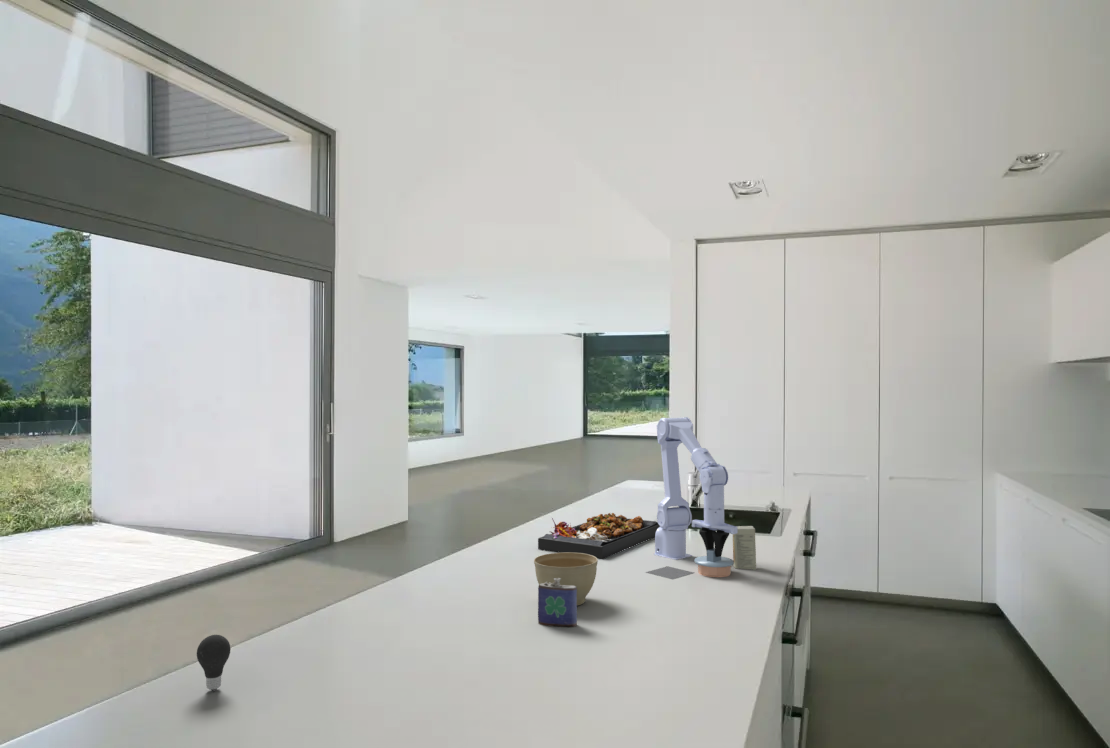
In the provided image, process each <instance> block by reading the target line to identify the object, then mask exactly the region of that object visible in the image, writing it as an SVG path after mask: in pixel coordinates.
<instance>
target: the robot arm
mask: <svg viewBox="0 0 1110 748" xmlns="http://www.w3.org/2000/svg"><path fill="white" fill-rule="evenodd" d="M692 422H693V421H692V420H691V418H689V417H688V416H684V417H661V418H660V419H659V420H658V423H656V424H657V425H656V435H657V436H656V437H657V444H659V445H660V453H661V464H662V465H661V466H662V476H663V488H664V489H663V490H664V498H663V499H662V500H661V501H660V502H659V503H658V504H657V514H656V520H657V521H656V522H658V524H659V525H660V527H659V528H658V529H657V531H656V534H655V537H654V553H653V556H656V557H660V558H661V557H662V558H667V559H670V560H674V561H677V560H682V559H685V558H689V557H692V556H693V554H691V553H687V533H686V532H687V530H688V529H689V526H690V524H691V527H692V528H700V530H699V531H698V534H699V535H700V537H701V539H702V541H703V543H704V546H705V550H706V552H707V550H710V549H714V548H715V557H719V556H721V557H722V555H723V550H724V547H725V543H726V541H727V539H728V538H729V536H730V534H731V535H733V534H737V533H738V528H737V526H738V525H733V524H729V523H726V522H725V486H726V485H727V484H728V482H729V472H728V470H727V468H726V466H725V465H722V464H720V463H717V461H716V460H715V459H714V457H713V456H712V454H711V453H710V452H709V450H708V448H706V447H702V446H701V444H700V442H699V441H698V439H697V436H696V435H695V434H694V424H693V423H692ZM681 444H683V445H684V446H685V448H686V449H687V450H688V452H689V453H690V454H691V455H690V461H691V462H692V464H693V465H694V467H695V468H696V470H697V471H698V473H699V476H698V477H699V481H700V484H701V491H702V493H703V520H701V519H693V515H692V511H691V509H690V503H689V502H688V501H687V500H686V499H684V498H683V497H682V488H681V477H680V476H681V475H680V468H679V467H680V465H679V452H678V447H679V446H680V445H681Z"/></svg>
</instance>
